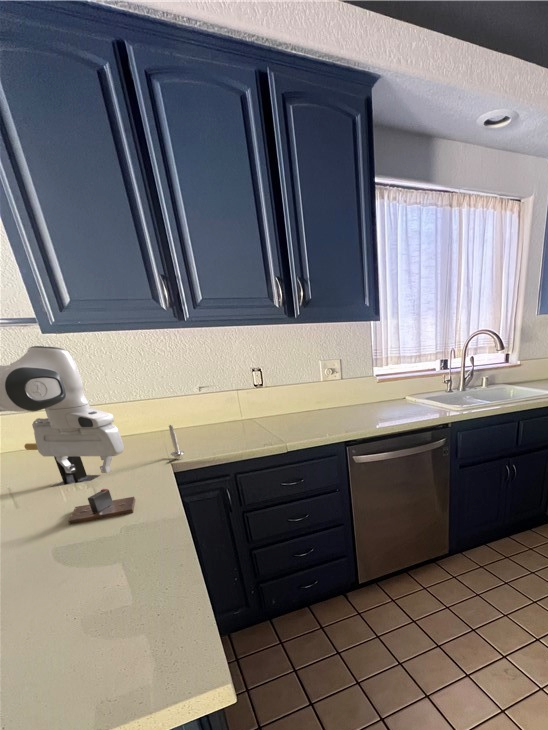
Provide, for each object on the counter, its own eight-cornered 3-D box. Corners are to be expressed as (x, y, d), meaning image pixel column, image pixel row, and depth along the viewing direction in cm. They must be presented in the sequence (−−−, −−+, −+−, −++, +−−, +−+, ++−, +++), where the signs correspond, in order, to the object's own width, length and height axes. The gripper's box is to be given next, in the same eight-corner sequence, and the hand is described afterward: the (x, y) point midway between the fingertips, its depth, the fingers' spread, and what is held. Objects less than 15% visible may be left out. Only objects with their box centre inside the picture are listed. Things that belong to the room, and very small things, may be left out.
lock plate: (72, 531, 106) (67, 520, 105) (79, 516, 115) (75, 506, 113) (135, 519, 112) (131, 508, 110) (137, 506, 120) (134, 495, 119)
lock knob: (98, 512, 109) (92, 497, 107) (92, 512, 109) (86, 497, 107) (113, 503, 114) (108, 488, 113) (107, 503, 115) (103, 488, 113)
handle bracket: (77, 490, 134) (63, 451, 129) (51, 490, 135) (35, 451, 129) (101, 478, 144) (89, 441, 138) (77, 478, 145) (63, 441, 139)
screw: (168, 460, 160) (178, 456, 164) (179, 460, 159) (188, 457, 163) (160, 425, 155) (169, 422, 159) (170, 426, 154) (180, 423, 158)
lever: (43, 450, 124) (43, 441, 124) (24, 450, 124) (24, 442, 124) (77, 455, 136) (77, 448, 136) (60, 456, 136) (60, 448, 136)
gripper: (19, 421, 100) (40, 476, 106) (102, 420, 99) (119, 476, 105) (40, 415, 106) (59, 468, 112) (119, 414, 105) (134, 468, 110)
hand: (88, 472), depth 108 cm, fingers open, 8 cm apart
